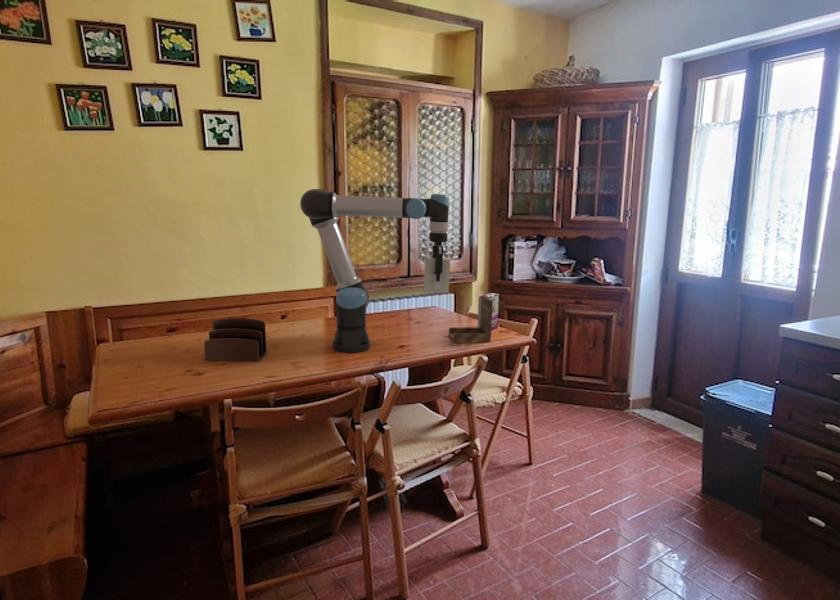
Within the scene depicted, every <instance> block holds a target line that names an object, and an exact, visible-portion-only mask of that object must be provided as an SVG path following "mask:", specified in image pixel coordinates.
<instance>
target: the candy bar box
mask: <svg viewBox="0 0 840 600" xmlns="http://www.w3.org/2000/svg"><path fill="white" fill-rule="evenodd" d="M482 296H487V297H489V298H490V299H491V300H492V301H493V305H492V324H491V331H493V330H495V329H498V328H499V327H498V325H499V302H500V294H499V293H495V292H494V293H493V292H489V293H486V294H483V295H479V296H478V307H477V309H478V310H477V311H478V312H477V327H480V320H481V299H482Z"/></svg>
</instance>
